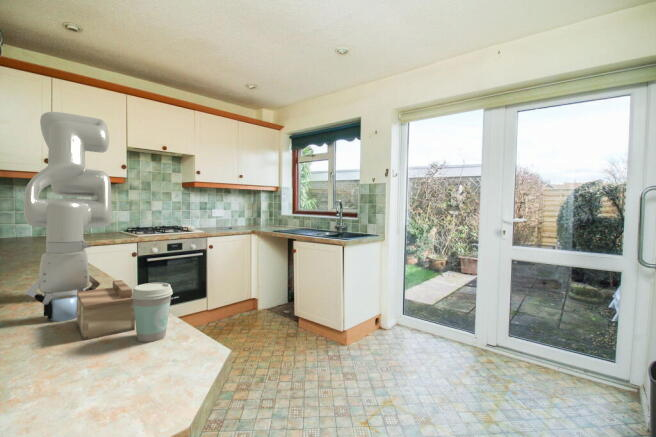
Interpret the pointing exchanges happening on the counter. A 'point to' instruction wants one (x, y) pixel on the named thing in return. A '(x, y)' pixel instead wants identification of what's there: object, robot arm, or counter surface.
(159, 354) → the counter surface
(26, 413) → the counter surface
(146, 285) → the coffee cup
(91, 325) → the crate
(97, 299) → the lid
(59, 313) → the pale blue rounded block
